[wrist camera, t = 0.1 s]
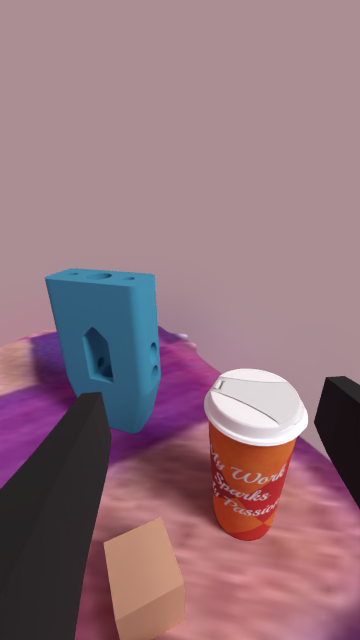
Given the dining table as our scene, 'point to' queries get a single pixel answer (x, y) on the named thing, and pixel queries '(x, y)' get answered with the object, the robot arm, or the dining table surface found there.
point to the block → (109, 339)
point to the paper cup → (251, 447)
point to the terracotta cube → (145, 582)
